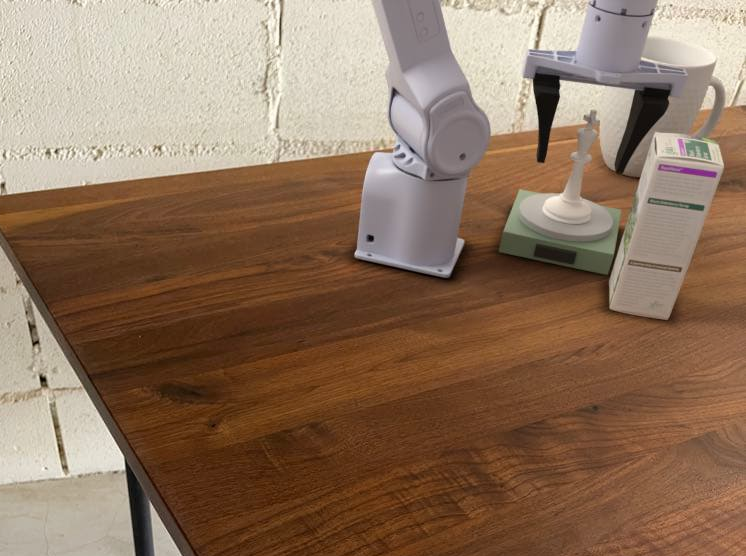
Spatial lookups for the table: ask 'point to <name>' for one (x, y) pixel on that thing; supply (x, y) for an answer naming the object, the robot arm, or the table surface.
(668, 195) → the syrup box
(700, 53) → the mug
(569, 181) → the chess piece
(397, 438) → the table surface
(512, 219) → the scale
